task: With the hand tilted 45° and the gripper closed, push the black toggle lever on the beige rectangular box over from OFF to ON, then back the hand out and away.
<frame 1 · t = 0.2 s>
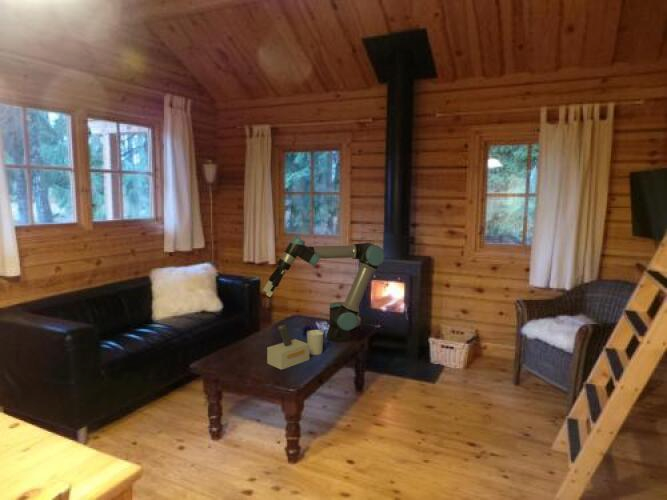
hand: (266, 293, 262), 35 cm above the table, tool tilted 35°, fingers open, 13 cm apart
beige rectangular box: (288, 361, 254), on the table
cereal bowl: (348, 328, 314), on the table
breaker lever: (285, 335, 254), point 14 cm above the table, hinge at -30.0°
candle holder: (315, 352, 268), on the table
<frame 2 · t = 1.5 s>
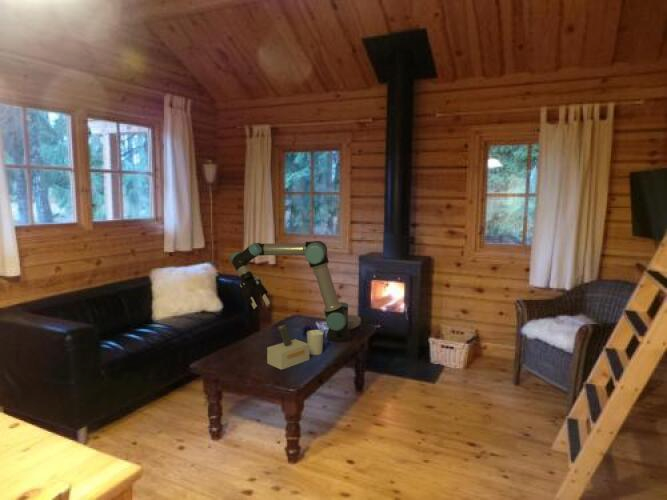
hand: (262, 306, 266), 27 cm above the table, tool tilted 45°, fingers open, 9 cm apart
nothing on the table moved.
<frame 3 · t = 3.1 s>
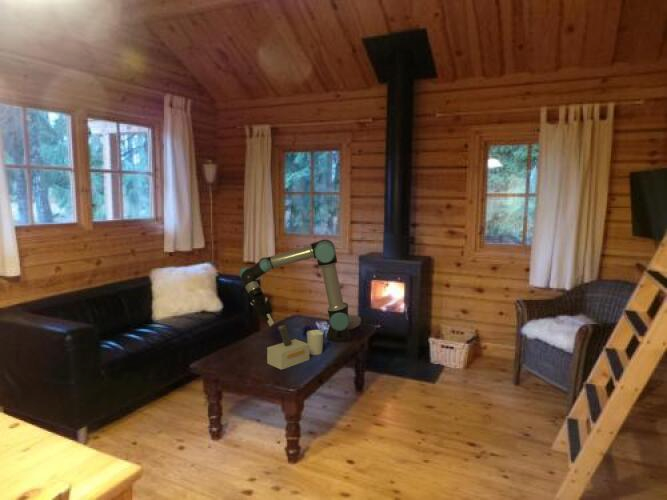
hand: (272, 324, 260), 18 cm above the table, tool tilted 45°, fingers closed
nothing on the table moved.
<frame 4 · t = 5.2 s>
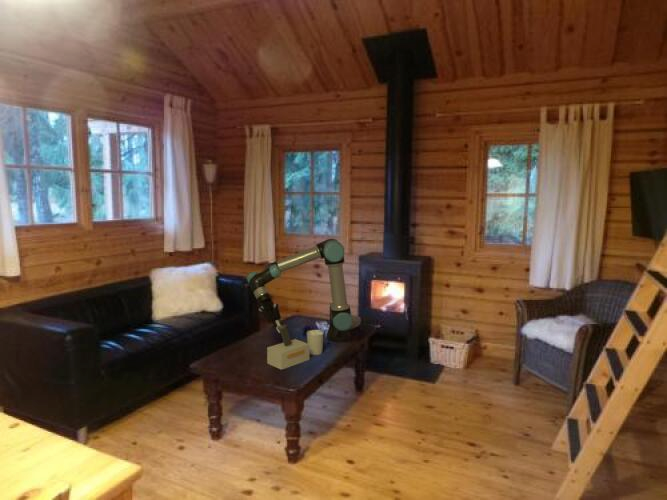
hand: (280, 331, 255), 16 cm above the table, tool tilted 45°, fingers closed
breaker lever: (285, 334, 254), point 15 cm above the table, hinge at -27.6°, touching gripper
everything else where it was.
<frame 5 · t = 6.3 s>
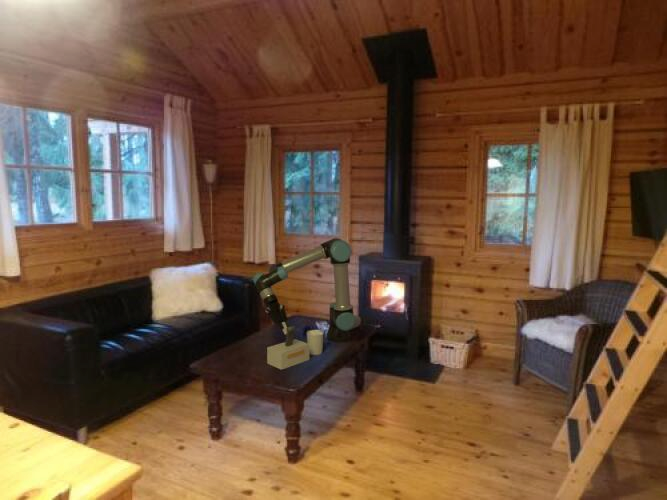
hand: (287, 333, 251), 16 cm above the table, tool tilted 45°, fingers closed
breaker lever: (290, 335, 251), point 15 cm above the table, hinge at 13.6°, touching gripper
everything else where it was.
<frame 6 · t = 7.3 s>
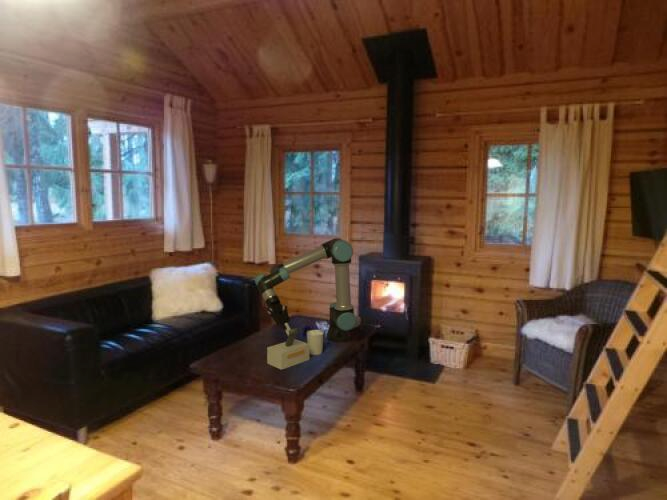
hand: (290, 334, 250), 16 cm above the table, tool tilted 45°, fingers closed
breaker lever: (291, 337, 250), point 15 cm above the table, hinge at 26.2°, touching gripper
everything else where it was.
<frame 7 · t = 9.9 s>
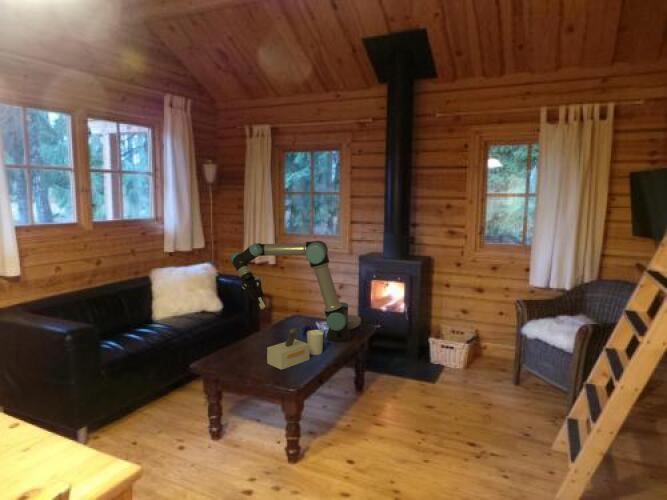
hand: (263, 307, 266), 26 cm above the table, tool tilted 45°, fingers closed
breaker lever: (291, 337, 250), point 15 cm above the table, hinge at 26.3°
everything else where it was.
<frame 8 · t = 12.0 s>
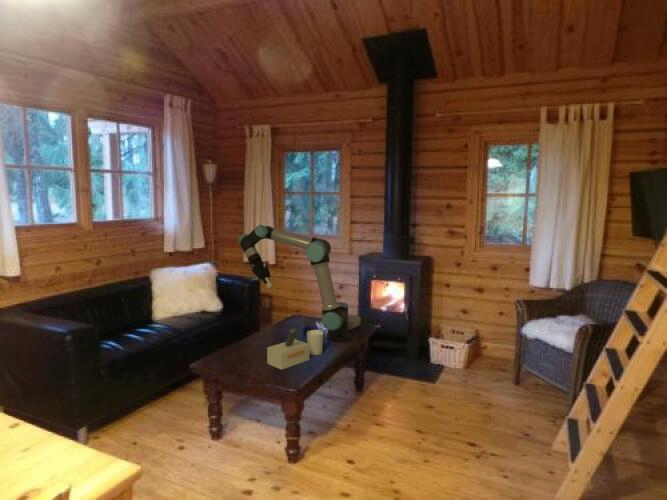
hand: (270, 287, 272), 36 cm above the table, tool tilted 45°, fingers closed
nothing on the table moved.
at the end: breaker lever at +26° (first picture: -30°); candle holder moved 0.2 cm from its start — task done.
